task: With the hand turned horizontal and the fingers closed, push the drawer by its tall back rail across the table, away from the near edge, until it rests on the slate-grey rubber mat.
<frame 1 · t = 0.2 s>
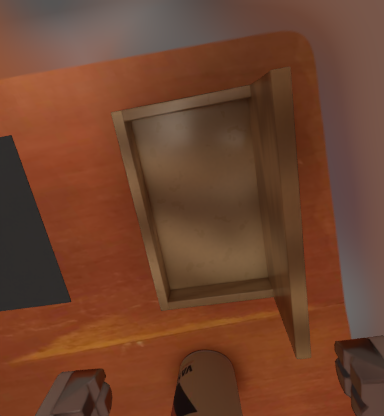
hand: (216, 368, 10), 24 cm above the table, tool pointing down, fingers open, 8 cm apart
coffee cup: (206, 369, 41), on the table
drawer: (205, 200, 33), on the table
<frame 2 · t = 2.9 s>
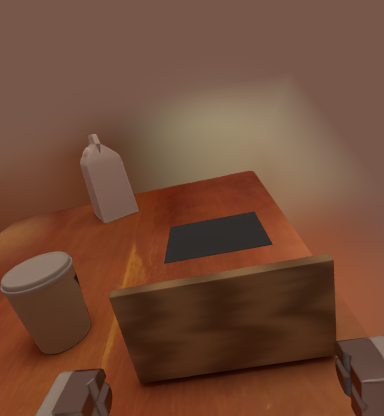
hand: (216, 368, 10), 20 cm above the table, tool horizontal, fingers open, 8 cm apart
coffee cup: (66, 334, 44), on the table
milk: (116, 213, 95), on the table
mat: (214, 234, 66), on the table
drawer: (229, 327, 38), on the table
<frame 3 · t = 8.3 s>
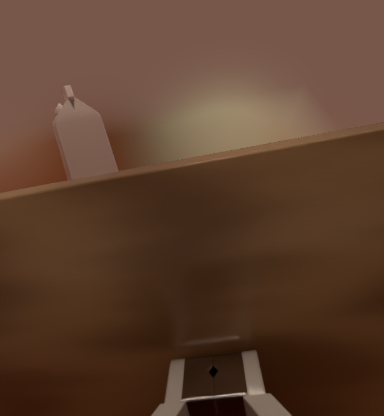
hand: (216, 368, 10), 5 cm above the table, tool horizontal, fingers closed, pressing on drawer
milk: (97, 191, 76), on the table
drawer: (226, 341, 18), on the table, touching gripper
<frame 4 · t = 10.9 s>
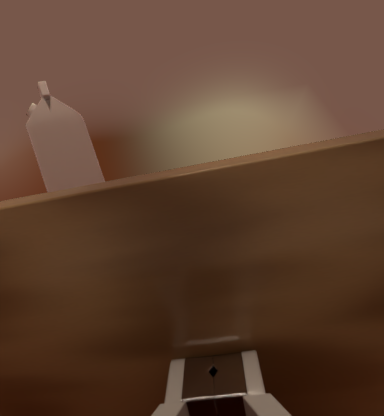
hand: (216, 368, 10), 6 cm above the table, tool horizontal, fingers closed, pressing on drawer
milk: (81, 207, 65), on the table
drawer: (225, 344, 18), on the table, touching gripper
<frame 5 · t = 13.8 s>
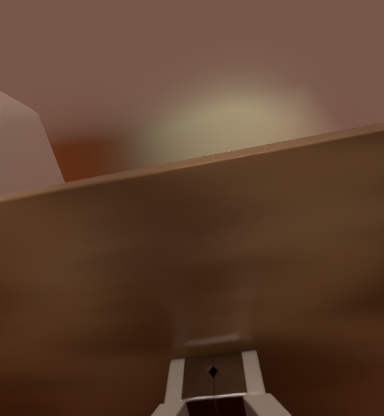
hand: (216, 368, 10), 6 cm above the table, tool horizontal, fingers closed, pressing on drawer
milk: (44, 231, 51), on the table
drawer: (217, 342, 18), on the table, touching gripper
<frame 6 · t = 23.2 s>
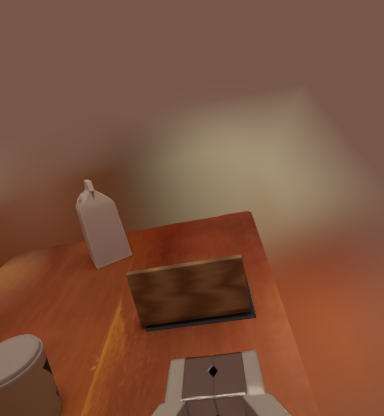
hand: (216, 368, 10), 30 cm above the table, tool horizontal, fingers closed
milk: (110, 256, 95), on the table
mat: (200, 296, 64), on the table
drawer: (196, 300, 63), on the table, touching mat
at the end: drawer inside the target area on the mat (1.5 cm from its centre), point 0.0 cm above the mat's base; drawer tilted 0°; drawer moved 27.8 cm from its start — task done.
